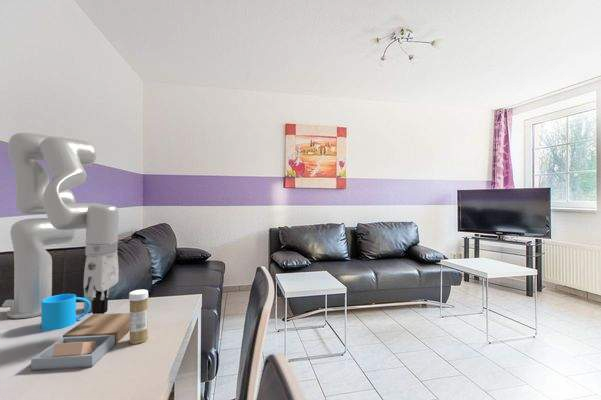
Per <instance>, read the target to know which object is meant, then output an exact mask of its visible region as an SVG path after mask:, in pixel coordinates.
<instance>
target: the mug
mask: <svg viewBox="0 0 601 400" xmlns="http://www.w3.org/2000/svg"><path fill="white" fill-rule="evenodd" d="M77 300H78V301H82V302H83V303H84V302H85V303H86V304H87V309H86V310H85V312H84V311H83V313H82V314H79V315H77ZM90 307H91V305H90V302H89V301H88V300H87V299H85V298H84V297H79V296H77V295H76V294H74V293H61V294H57V295H52V296H51V297H48V298H45V299H43V300H42V302H41V315H40V316H41V317H40V318H41V321H40V323H41V324H40V325H41V327H40V328H41V331H42V330H43V331H48V332H49V331H57V330H63V329H65V328H68V327H70V326H72V325H74V324H75V323H76V321H77V320H79V319H82V318H83V317H85V316H86V315H87V314H88V313H89V312H88V311H89V310H90Z"/></svg>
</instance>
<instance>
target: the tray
mask: <svg viewBox="0 0 601 400" xmlns="http://www.w3.org/2000/svg"><path fill="white" fill-rule="evenodd" d="M88 341H96V344H95V349H94V351H93V352H92V353H86V354H81V355H66V356H52V354H53V350H54V345H55V344H61V343H70V342H88ZM115 345H116V344H115V335H98V336H77V337H63V336H61V338H60V339H58V340H56V341H55V342H54V343H53V344H51V345H50V346H48V347H47V348H45V349H44V350H43V351H41V352H39V353H38V354H37V355H35V356H34V357H32V358H31V360H30V361H31V362H30V365H31V366H30V370H31V372H34V371H46V370H47V371H49V370H67V369H80V368H81V369H83V368H85V369H86V368H93V367H94V366H95V365H96V364H97V363H98V362H99V361H100V360H101V359H102V358H103V357H104V356H105V355H106V354H107V353H108V352H109V351H110V350H111V349H112V348H113V347H114V346H115Z"/></svg>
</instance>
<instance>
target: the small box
mask: <svg viewBox="0 0 601 400" xmlns="http://www.w3.org/2000/svg"><path fill="white" fill-rule="evenodd" d="M87 296H88V292H85V291H84V290H83V298H85V299H87V300H88V301H89V302H90V305H91V307H90V310H89V311H88V313H92V309H93V300H92V298H88V297H87ZM86 309H87V304H86V303H85V302H84V301H83V313H84V312H85V310H86Z"/></svg>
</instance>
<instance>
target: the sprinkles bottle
mask: <svg viewBox="0 0 601 400" xmlns="http://www.w3.org/2000/svg"><path fill="white" fill-rule="evenodd" d="M148 299H149V290H147V289H136V290H135V289H134V290H132V291H130V292H129V293H128V300H129V313H130V331H129V340H128V342H129V343H130V344H134V345H137V344H142V343H144V342H145V341H147V340H148V338H149V336H148V326H149V321H148V320H149V315H148V312H149V310H148Z"/></svg>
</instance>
